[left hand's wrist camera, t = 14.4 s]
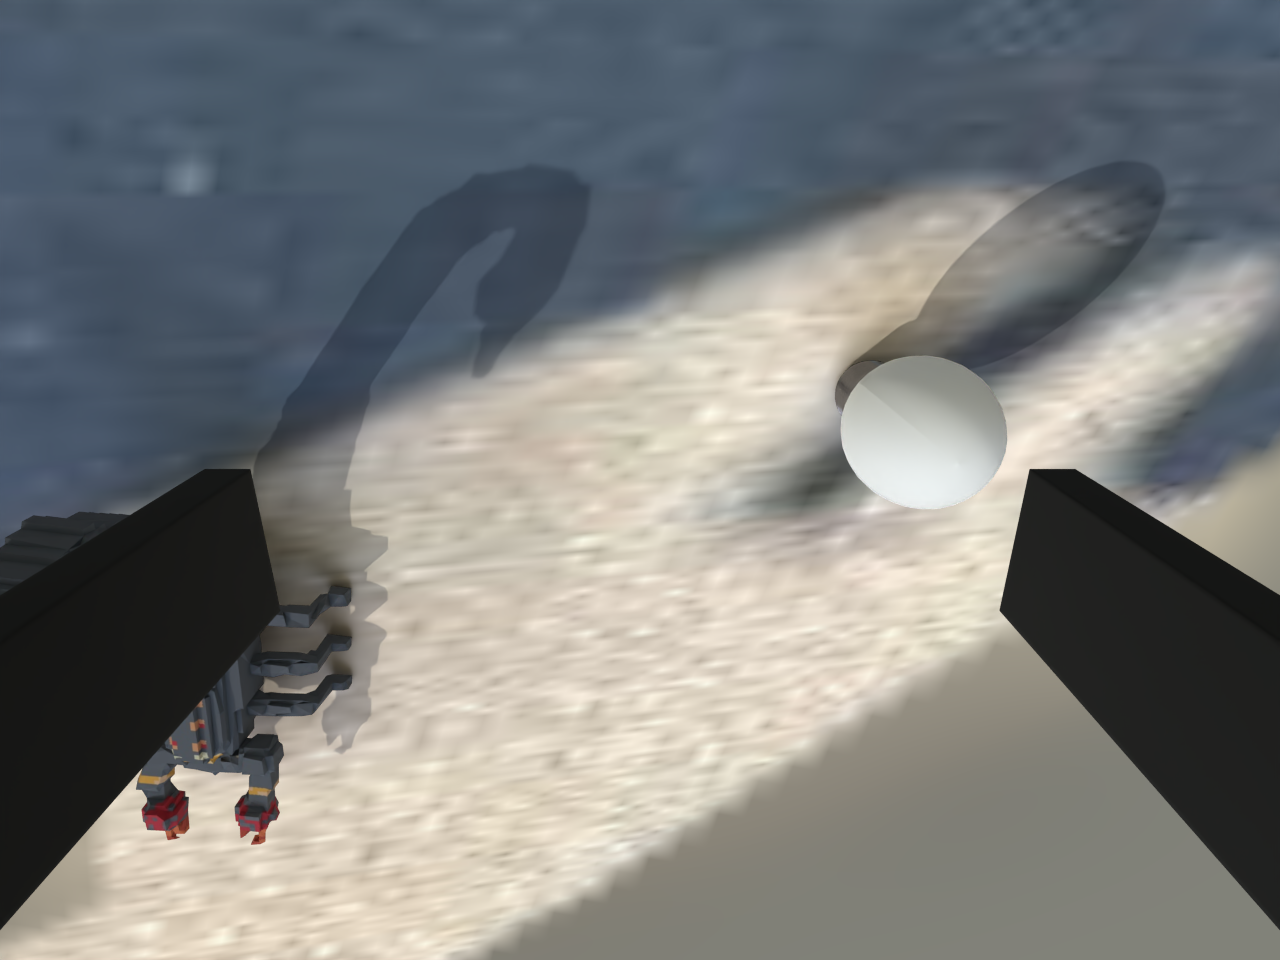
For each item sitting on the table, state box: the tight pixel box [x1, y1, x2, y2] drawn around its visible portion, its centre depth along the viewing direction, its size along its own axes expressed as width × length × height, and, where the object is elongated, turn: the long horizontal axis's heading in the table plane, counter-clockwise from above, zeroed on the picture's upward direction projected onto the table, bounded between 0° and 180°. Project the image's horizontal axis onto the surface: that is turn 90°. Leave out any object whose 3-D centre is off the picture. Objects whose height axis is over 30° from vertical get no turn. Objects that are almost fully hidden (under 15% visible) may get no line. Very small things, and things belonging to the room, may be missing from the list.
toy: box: [0, 512, 352, 845], centre depth 36 cm, size 13×27×18 cm, turn 172°
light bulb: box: [835, 355, 1007, 509], centre depth 34 cm, size 7×7×11 cm
